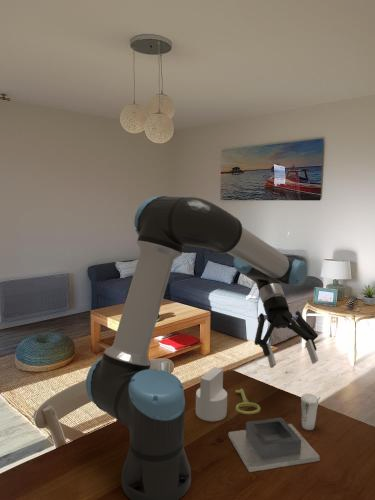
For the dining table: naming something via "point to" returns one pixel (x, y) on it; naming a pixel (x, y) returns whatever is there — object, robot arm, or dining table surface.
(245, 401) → the key
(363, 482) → the dining table surface
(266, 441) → the holder
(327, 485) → the dining table surface
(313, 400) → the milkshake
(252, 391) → the dining table surface
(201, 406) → the base with upright slab
